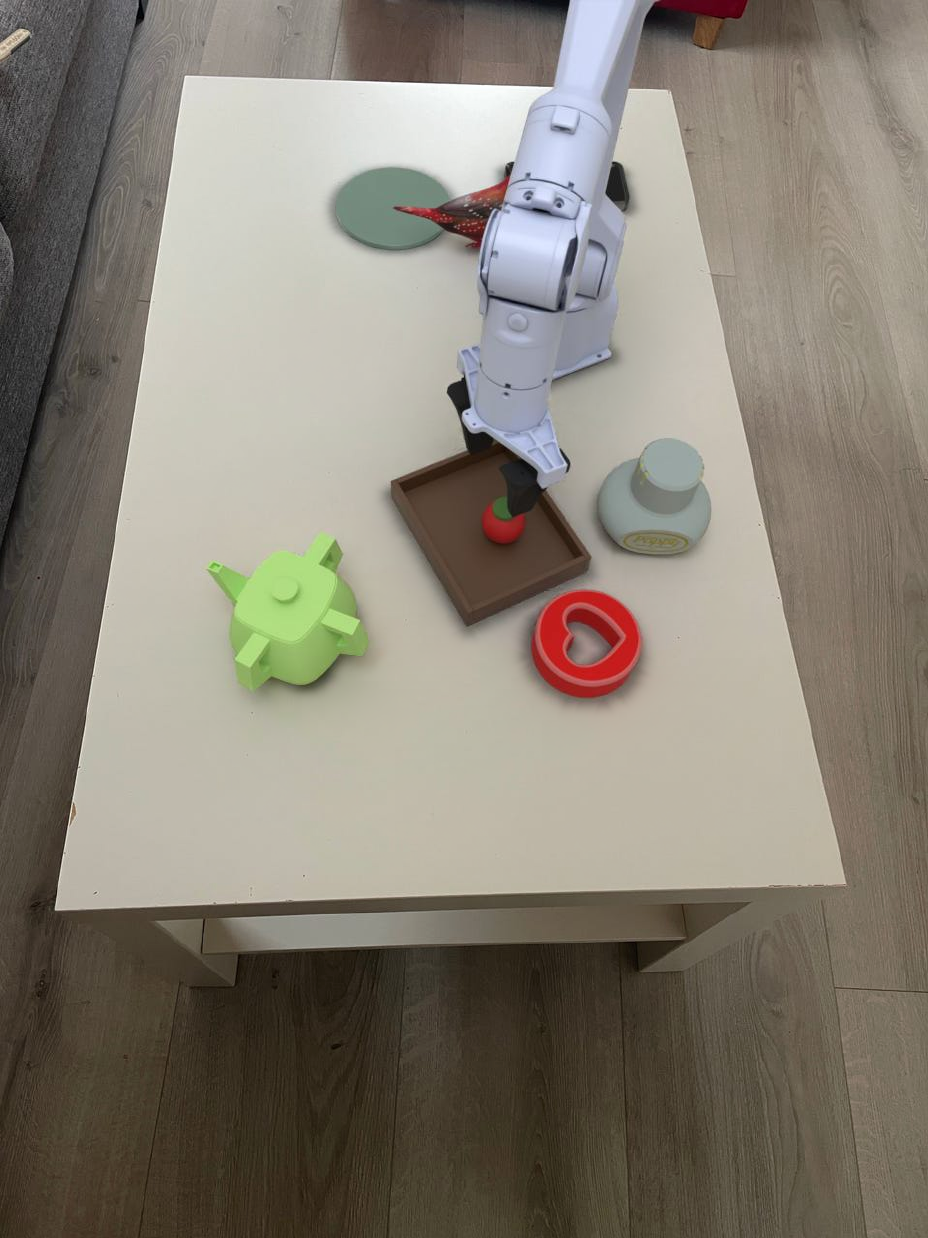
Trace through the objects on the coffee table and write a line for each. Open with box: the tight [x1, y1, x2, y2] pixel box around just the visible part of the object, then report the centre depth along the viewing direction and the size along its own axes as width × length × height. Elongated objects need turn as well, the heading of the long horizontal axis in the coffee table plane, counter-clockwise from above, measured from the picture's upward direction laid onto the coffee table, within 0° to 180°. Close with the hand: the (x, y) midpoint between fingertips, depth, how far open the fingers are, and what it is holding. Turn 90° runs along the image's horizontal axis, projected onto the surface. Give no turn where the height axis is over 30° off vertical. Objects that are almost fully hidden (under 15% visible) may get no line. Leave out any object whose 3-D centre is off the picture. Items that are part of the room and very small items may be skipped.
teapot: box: [205, 531, 371, 692], centre depth 74 cm, size 12×12×10 cm
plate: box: [335, 166, 451, 251], centre depth 104 cm, size 14×14×1 cm
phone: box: [504, 160, 631, 212], centre depth 106 cm, size 8×1×15 cm
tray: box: [390, 439, 592, 627], centre depth 83 cm, size 13×16×3 cm
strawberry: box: [482, 497, 526, 544], centre depth 81 cm, size 4×4×5 cm
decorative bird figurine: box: [393, 175, 511, 249], centre depth 97 cm, size 3×18×10 cm, turn 98°
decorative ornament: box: [531, 588, 643, 699], centre depth 78 cm, size 10×10×3 cm
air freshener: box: [597, 437, 712, 555], centre depth 81 cm, size 11×8×10 cm
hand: (499, 479), depth 76 cm, fingers open, 7 cm apart
